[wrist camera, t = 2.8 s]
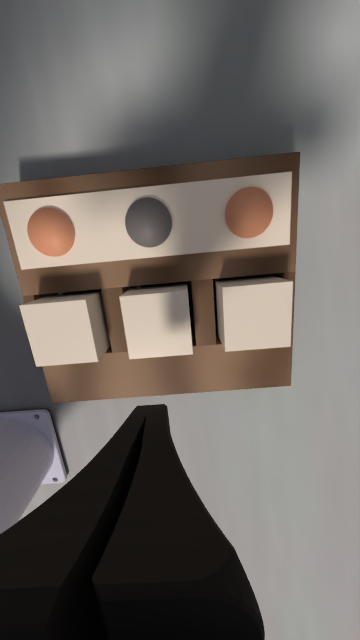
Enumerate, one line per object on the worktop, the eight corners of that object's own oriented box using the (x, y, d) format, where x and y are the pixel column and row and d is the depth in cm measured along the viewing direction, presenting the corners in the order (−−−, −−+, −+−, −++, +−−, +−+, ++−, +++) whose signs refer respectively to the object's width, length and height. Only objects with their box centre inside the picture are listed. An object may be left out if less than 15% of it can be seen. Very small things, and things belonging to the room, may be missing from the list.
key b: (137, 342, 18) (129, 359, 15) (130, 288, 17) (119, 296, 14) (191, 337, 18) (193, 354, 15) (186, 283, 17) (187, 290, 14)
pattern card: (23, 269, 16) (19, 269, 15) (5, 202, 15) (0, 200, 14) (288, 244, 15) (291, 244, 15) (290, 172, 14) (293, 170, 14)
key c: (218, 335, 18) (225, 351, 15) (215, 281, 17) (222, 287, 14) (273, 331, 18) (290, 346, 15) (273, 276, 17) (293, 281, 14)
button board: (67, 385, 21) (52, 403, 18) (19, 194, 17) (-8, 184, 14) (277, 369, 20) (290, 385, 18) (282, 166, 16) (300, 151, 14)
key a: (59, 348, 18) (36, 366, 15) (46, 296, 17) (19, 305, 14) (111, 344, 18) (98, 361, 15) (101, 291, 17) (85, 299, 14)
